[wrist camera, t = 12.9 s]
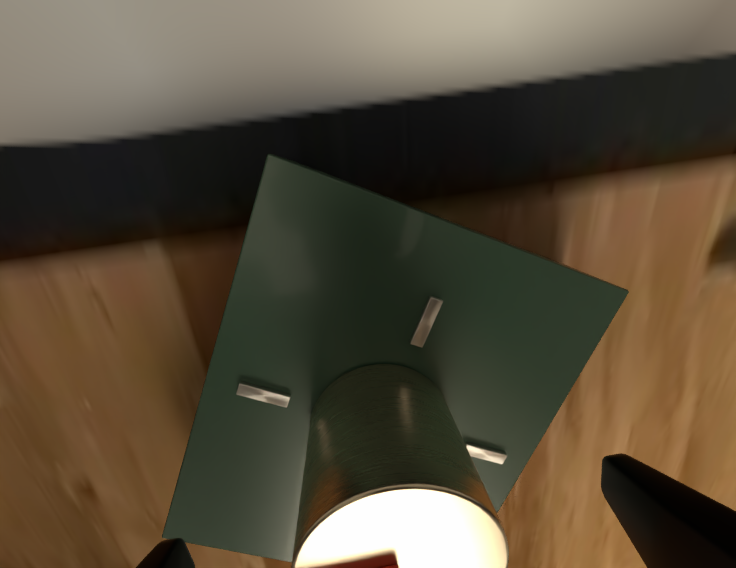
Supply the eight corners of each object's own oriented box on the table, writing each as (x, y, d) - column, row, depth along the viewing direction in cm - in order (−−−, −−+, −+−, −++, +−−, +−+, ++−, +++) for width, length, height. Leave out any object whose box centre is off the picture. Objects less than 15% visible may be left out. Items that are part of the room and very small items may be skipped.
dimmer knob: (439, 350, 10) (511, 480, 6) (454, 465, 11) (523, 641, 7) (295, 378, 10) (260, 531, 5) (326, 490, 11) (316, 684, 7)
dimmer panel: (430, 515, 15) (451, 598, 12) (198, 463, 14) (158, 543, 11) (564, 264, 12) (635, 293, 9) (287, 158, 11) (266, 152, 8)
